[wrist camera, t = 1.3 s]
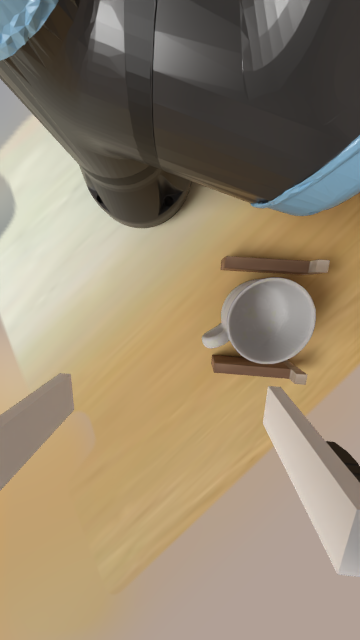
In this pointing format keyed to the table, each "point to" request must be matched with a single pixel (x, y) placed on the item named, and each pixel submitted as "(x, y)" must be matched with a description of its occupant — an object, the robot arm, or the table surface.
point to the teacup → (265, 320)
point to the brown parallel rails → (266, 266)
